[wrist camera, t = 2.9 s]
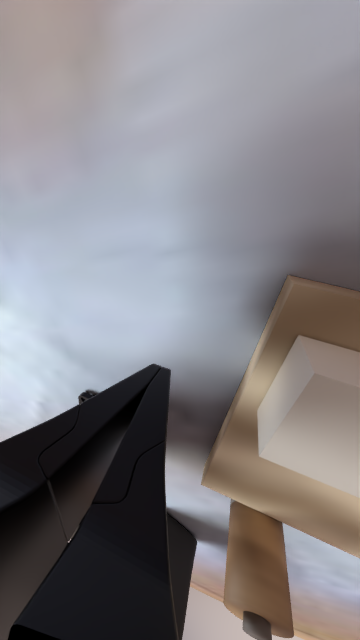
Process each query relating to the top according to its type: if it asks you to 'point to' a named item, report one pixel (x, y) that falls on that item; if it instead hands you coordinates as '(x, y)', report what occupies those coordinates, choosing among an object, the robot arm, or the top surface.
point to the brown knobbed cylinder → (257, 574)
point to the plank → (242, 423)
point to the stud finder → (315, 414)
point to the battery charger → (180, 568)
